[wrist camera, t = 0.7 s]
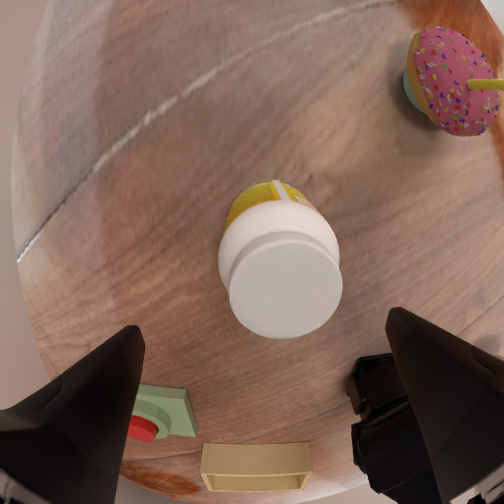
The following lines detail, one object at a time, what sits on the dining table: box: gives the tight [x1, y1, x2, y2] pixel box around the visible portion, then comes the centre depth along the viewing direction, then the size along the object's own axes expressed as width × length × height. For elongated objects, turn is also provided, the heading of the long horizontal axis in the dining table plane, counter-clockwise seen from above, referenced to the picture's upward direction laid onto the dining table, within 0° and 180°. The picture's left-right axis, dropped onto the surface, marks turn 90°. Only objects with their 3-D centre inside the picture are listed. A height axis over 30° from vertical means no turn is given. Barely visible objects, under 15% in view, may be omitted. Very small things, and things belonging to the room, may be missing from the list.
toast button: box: [128, 415, 157, 442], centre depth 27 cm, size 4×4×2 cm
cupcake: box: [403, 26, 504, 136], centre depth 11 cm, size 9×8×12 cm
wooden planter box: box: [200, 442, 313, 492], centre depth 33 cm, size 16×10×6 cm, turn 90°
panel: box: [132, 384, 197, 439], centre depth 29 cm, size 12×9×4 cm
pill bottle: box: [218, 180, 342, 339], centre depth 16 cm, size 6×6×11 cm
